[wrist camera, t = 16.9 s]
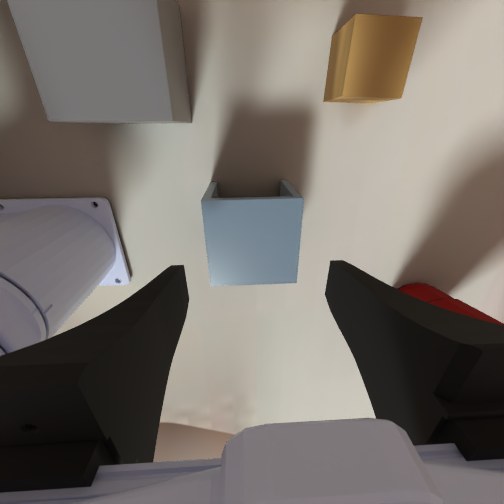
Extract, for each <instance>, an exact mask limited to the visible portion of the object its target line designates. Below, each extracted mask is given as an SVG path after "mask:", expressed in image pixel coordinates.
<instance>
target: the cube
mask: <svg viewBox="0 0 504 504" xmlns="http://www.w3.org/2000/svg"><path fill="white" fill-rule="evenodd" d="M421 21H422V17H406V16H388V15H369V14H355V15H354V16H353V17H352V18H351V19H350V20H349V21H348V22H347V23H346V24H345V25H344V26H343V27H342V28H340V29H339V30H338V31H337V32H336V33H335V34H334V35H333V36H332V42H331V49H330V56H329V64H328V71H327V79H326V86H325V93H324V101H323V102H346V103H377V102H383V101H389V100H394V99H400V98H402V94H403V90H404V86H405V83H406V79H407V75H408V71H409V67H410V63H411V60H412V56H413V52H414V48H415V44H416V40H417V37H418V33H419V29H420V25H421Z"/></svg>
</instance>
